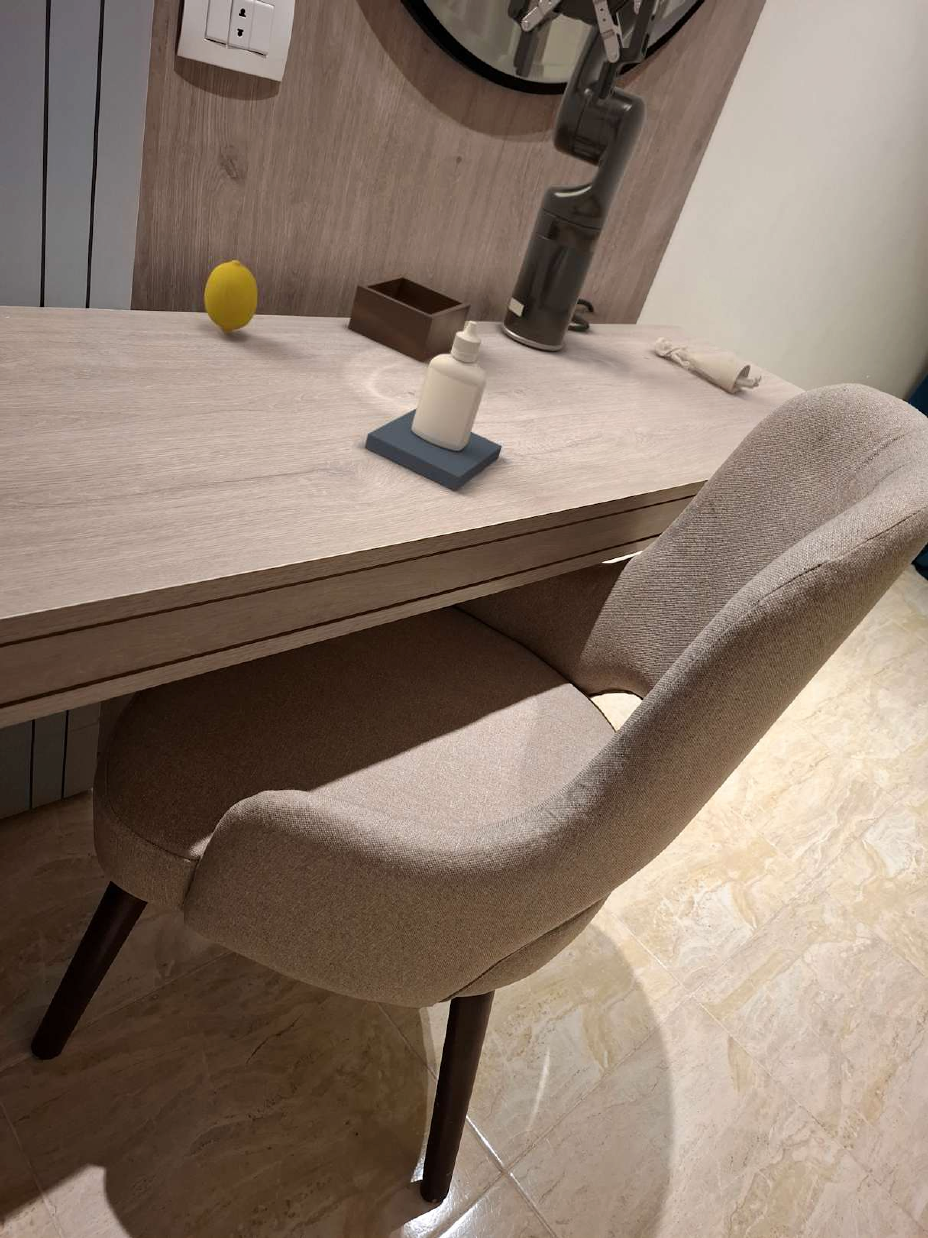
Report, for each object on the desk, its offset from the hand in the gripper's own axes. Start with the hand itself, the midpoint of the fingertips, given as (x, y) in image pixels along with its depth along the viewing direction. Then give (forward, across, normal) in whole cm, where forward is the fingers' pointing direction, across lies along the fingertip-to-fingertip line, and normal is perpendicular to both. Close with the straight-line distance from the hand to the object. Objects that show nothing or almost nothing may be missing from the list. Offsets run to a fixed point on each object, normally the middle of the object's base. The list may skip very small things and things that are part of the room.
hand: (558, 89), depth 92 cm
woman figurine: (+32, -21, -47) cm, 61 cm away
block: (+32, -6, +22) cm, 39 cm away
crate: (+32, +12, -6) cm, 35 cm away
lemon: (+32, +23, +17) cm, 43 cm away
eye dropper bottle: (+31, -6, +22) cm, 38 cm away
